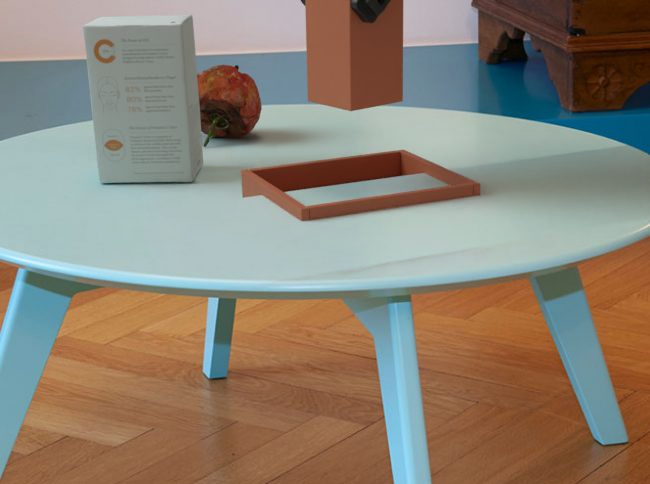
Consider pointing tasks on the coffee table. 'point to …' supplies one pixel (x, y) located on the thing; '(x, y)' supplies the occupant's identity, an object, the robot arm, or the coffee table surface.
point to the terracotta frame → (349, 171)
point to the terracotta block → (353, 55)
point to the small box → (144, 98)
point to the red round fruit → (227, 102)
